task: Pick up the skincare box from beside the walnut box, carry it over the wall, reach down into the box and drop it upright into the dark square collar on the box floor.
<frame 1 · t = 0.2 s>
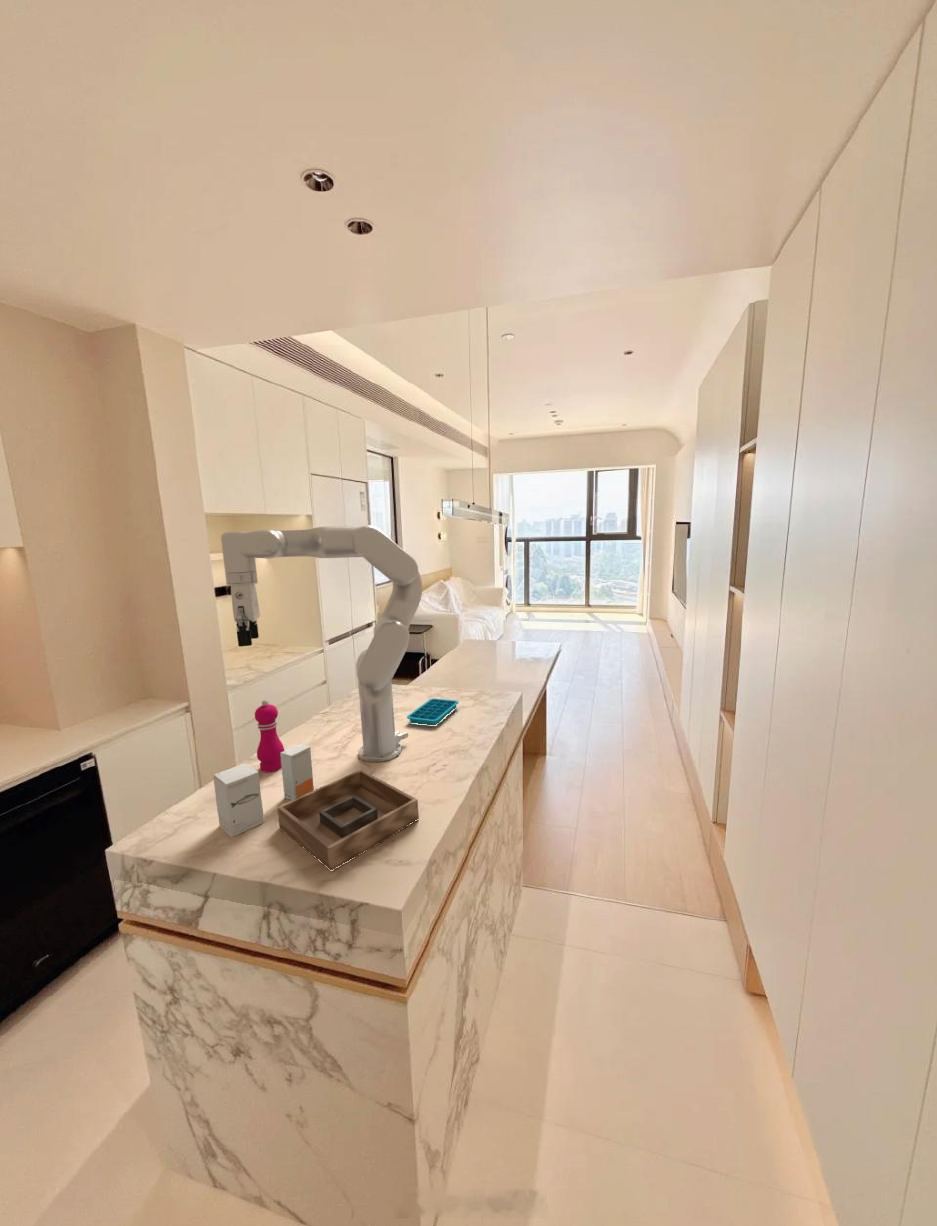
hand: (249, 642, 128), 37 cm above the table, tool pointing down, fingers open, 9 cm apart
skincare box: (299, 794, 120), on the table
walled box: (349, 823, 107), on the table
pepper mill: (272, 767, 135), on the table
ice cube tray: (434, 717, 169), on the table
supplement box: (242, 825, 108), on the table
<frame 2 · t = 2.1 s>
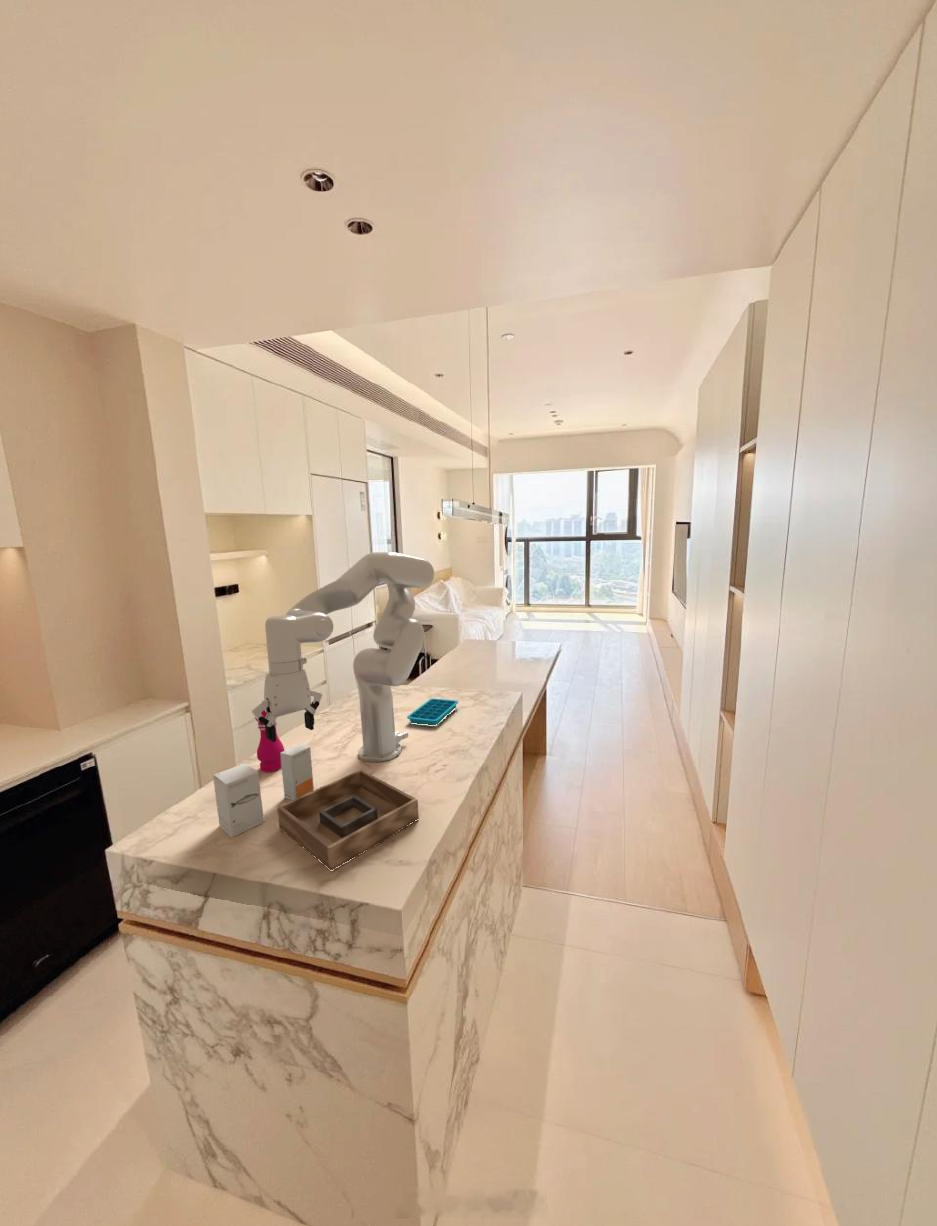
hand: (291, 734, 117), 16 cm above the table, tool pointing down, fingers open, 9 cm apart
nothing on the table moved.
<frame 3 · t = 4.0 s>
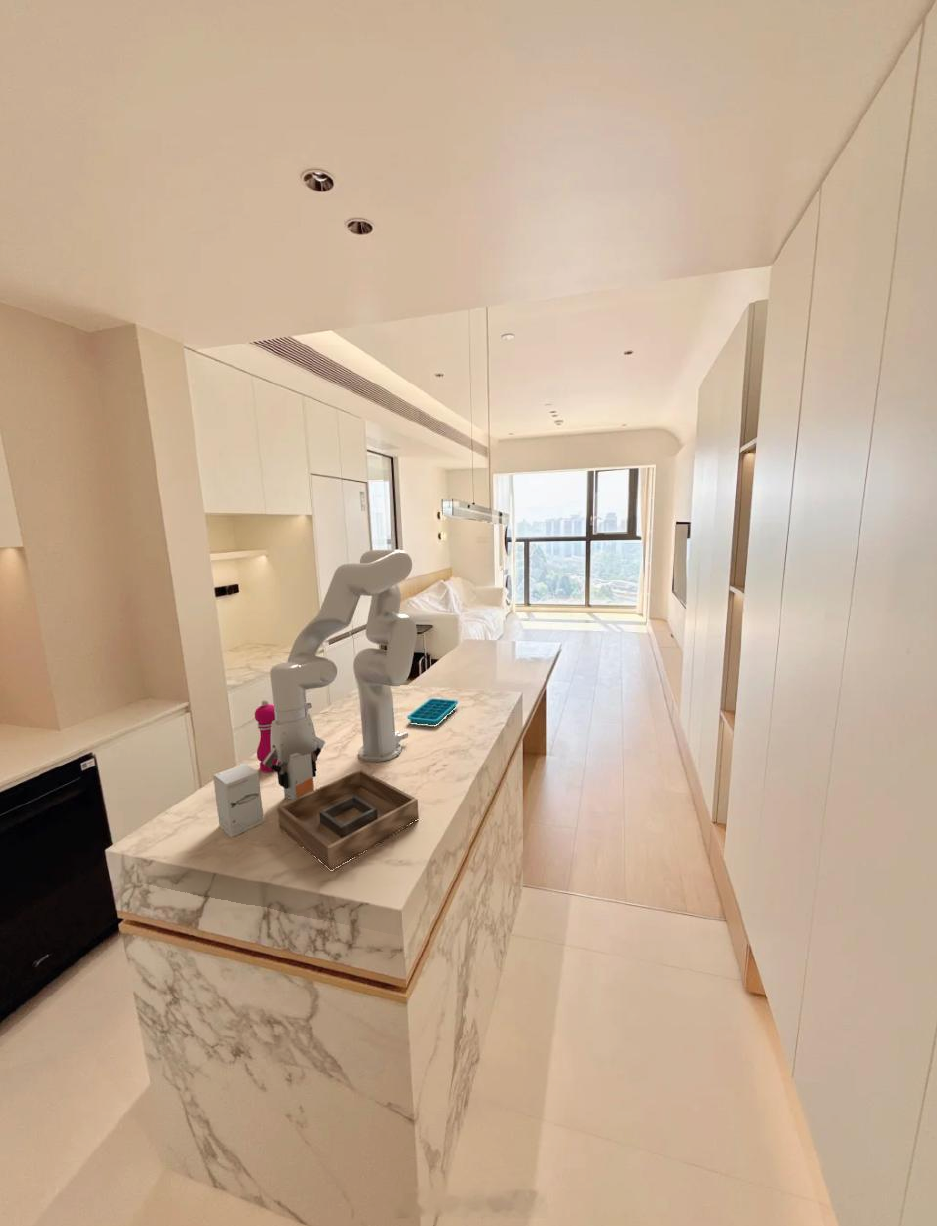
hand: (298, 780, 120), 4 cm above the table, tool pointing down, fingers closed on skincare box, 6 cm apart
skincare box: (300, 794, 120), on the table, touching gripper
everything else where it was.
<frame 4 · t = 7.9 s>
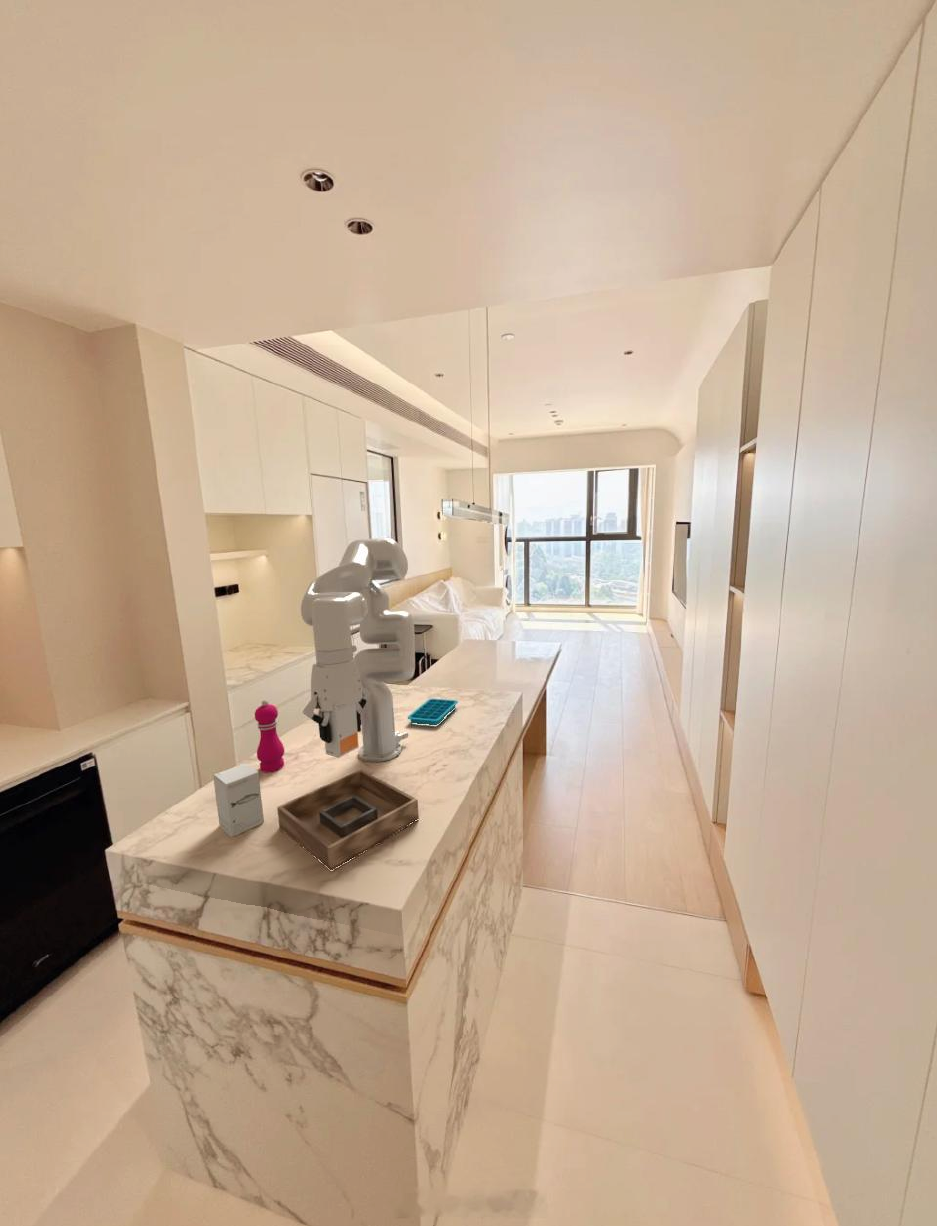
hand: (341, 734, 103), 21 cm above the table, tool pointing down, fingers closed on skincare box, 6 cm apart
skincare box: (343, 751, 104), point 17 cm above the table, touching gripper
everything else where it was.
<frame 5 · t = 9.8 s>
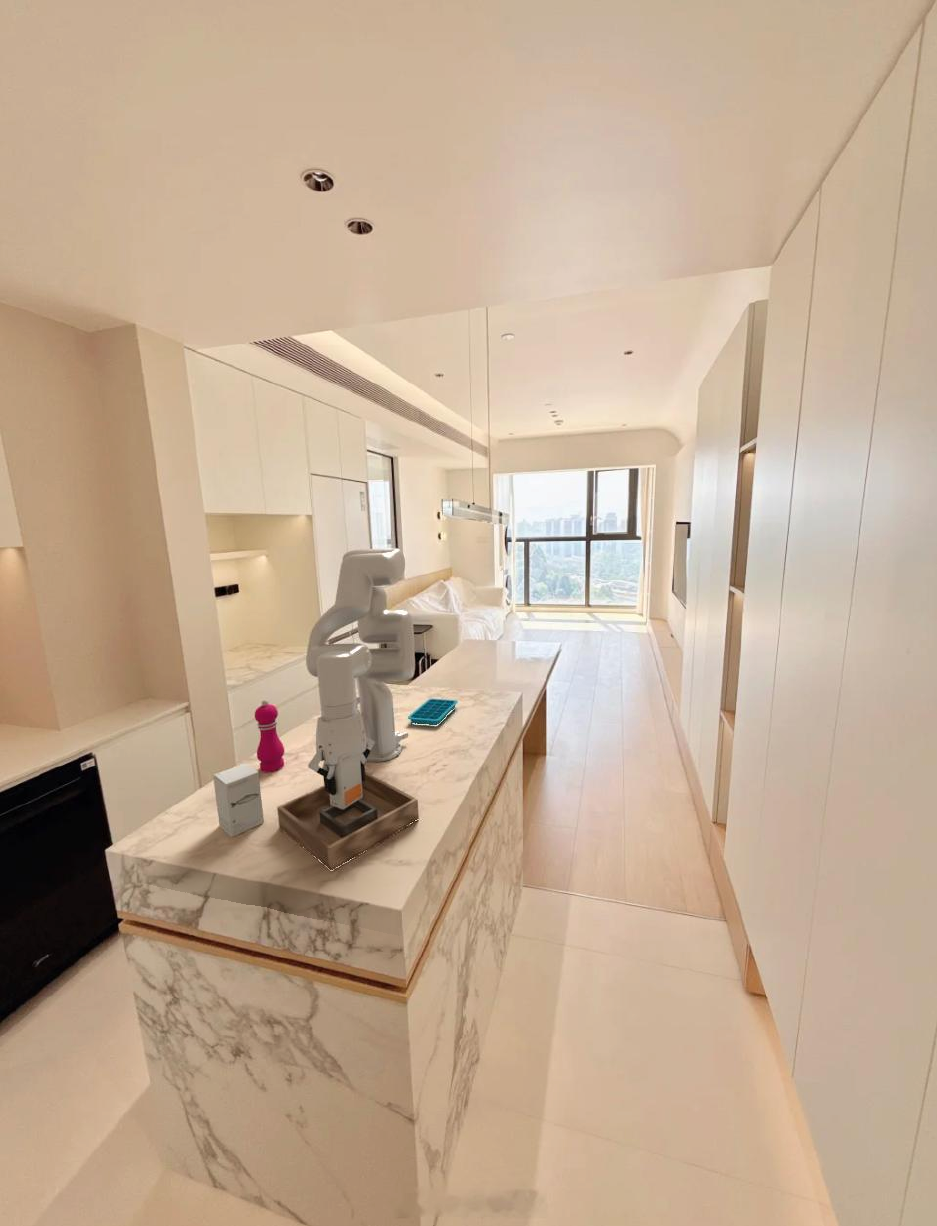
hand: (345, 785, 105), 9 cm above the table, tool pointing down, fingers closed on skincare box, 6 cm apart
skincare box: (347, 802, 106), point 5 cm above the table, touching gripper
everything else where it was.
when the fingers open (5 cm above the table, at t = 11.6 s): skincare box stays where it is, resting on walled box.
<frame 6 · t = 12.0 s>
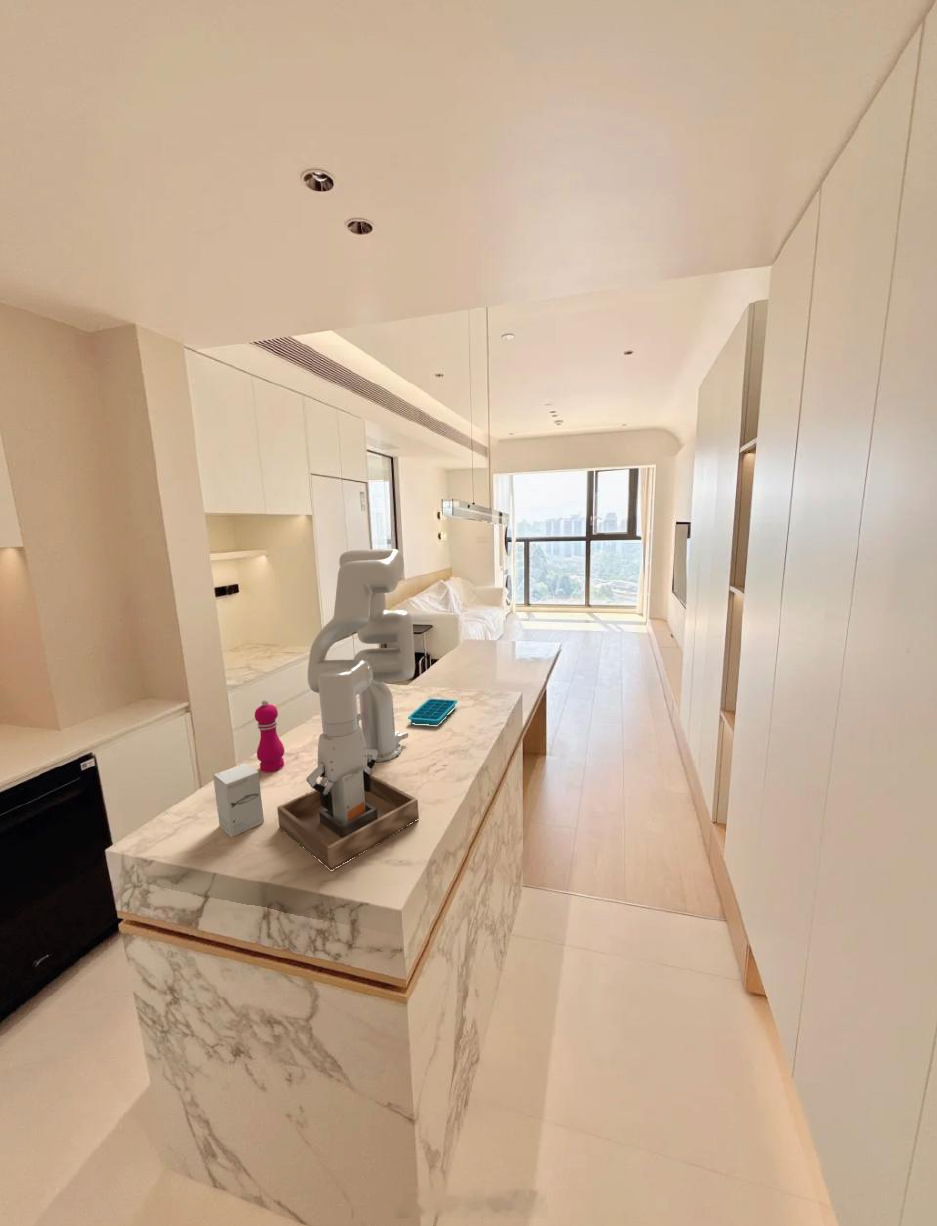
hand: (347, 798, 106), 6 cm above the table, tool pointing down, fingers open, 9 cm apart
skincare box: (350, 820, 107), point 1 cm above the table, touching walled box
everything else where it was.
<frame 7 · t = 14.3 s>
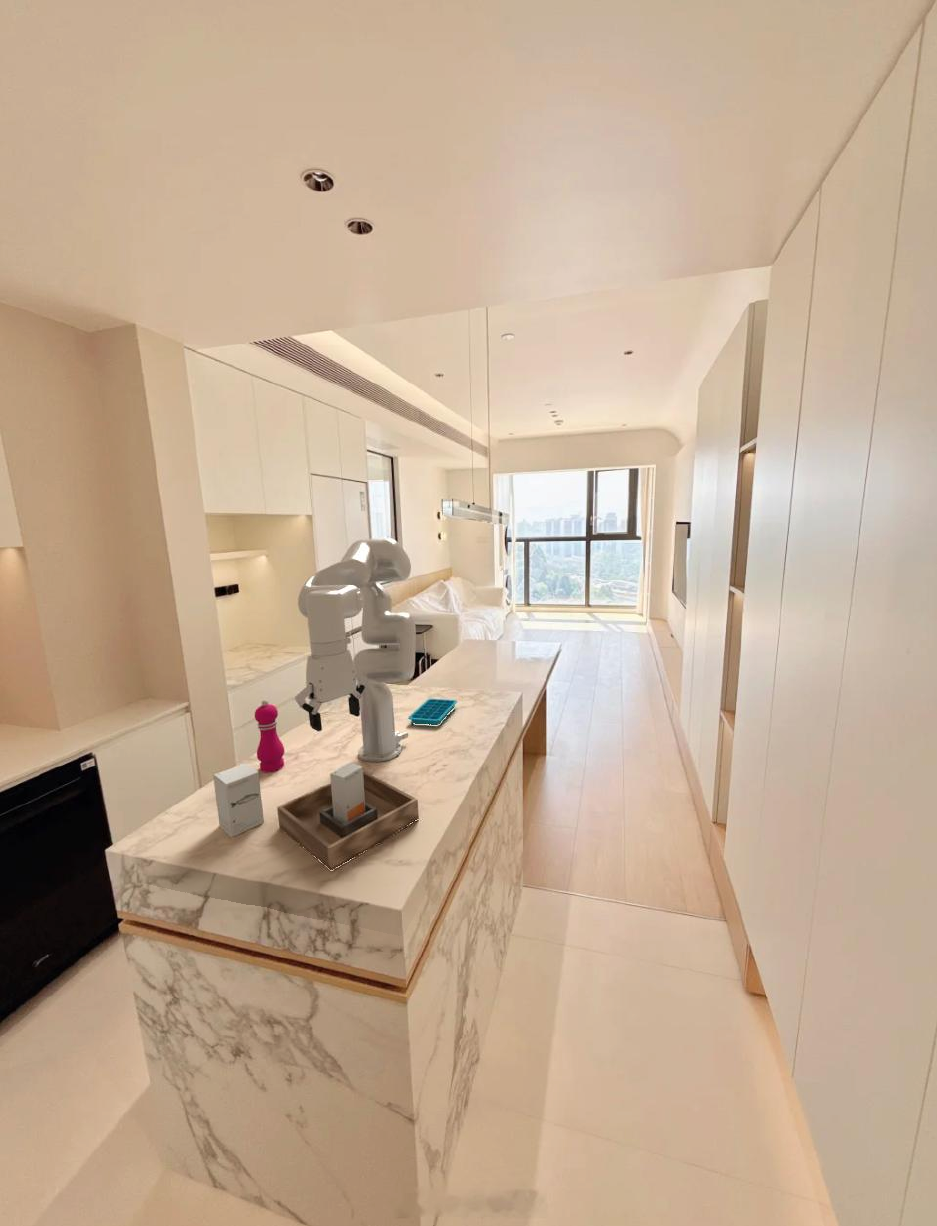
hand: (336, 721, 106), 23 cm above the table, tool pointing down, fingers open, 9 cm apart
nothing on the table moved.
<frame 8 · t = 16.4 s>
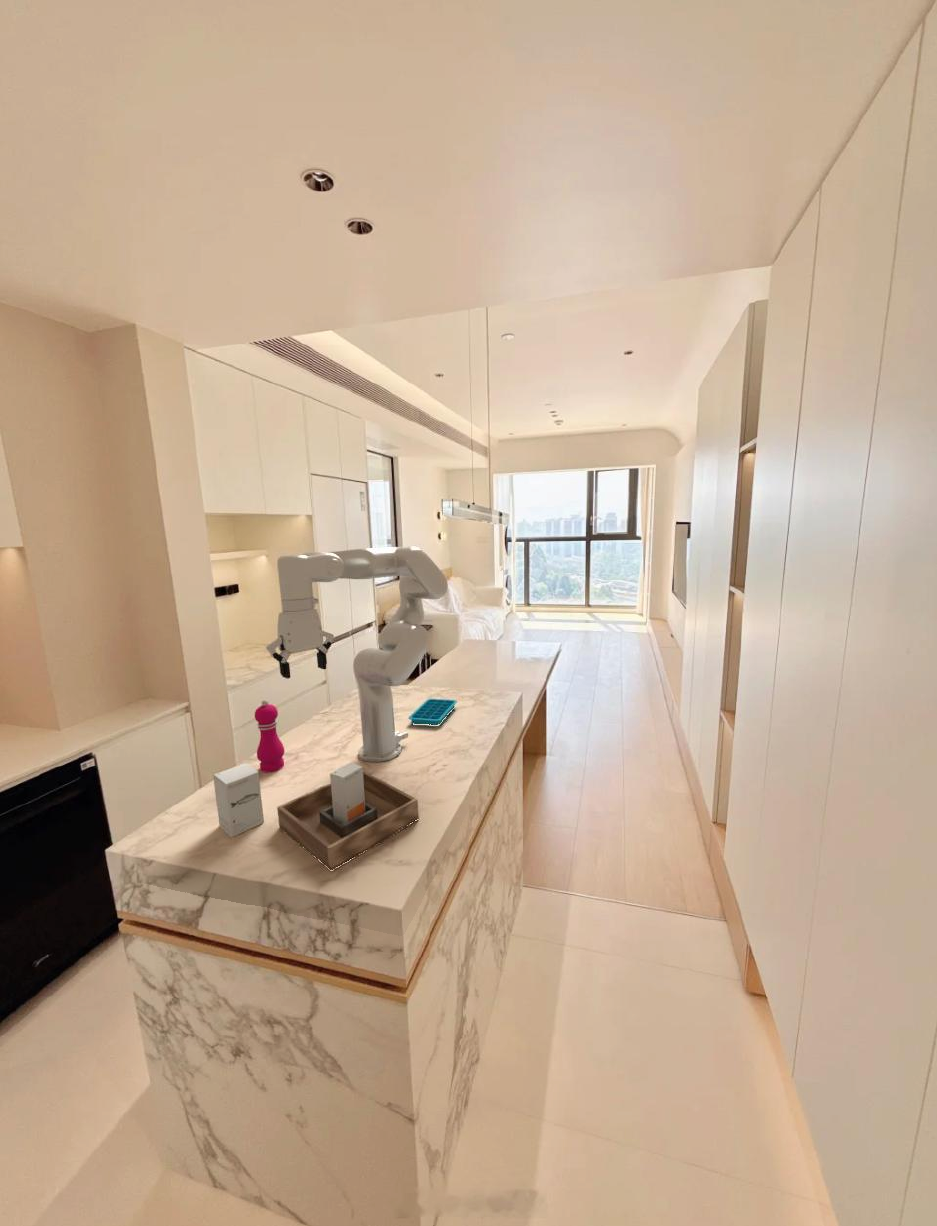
hand: (304, 672, 120), 30 cm above the table, tool pointing down, fingers open, 9 cm apart
nothing on the table moved.
at the end: skincare box 0.5 cm off-centre on the walled box, point 0.6 cm above the walled box's base; skincare box tilted 0°; the gripper is holding nothing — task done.
